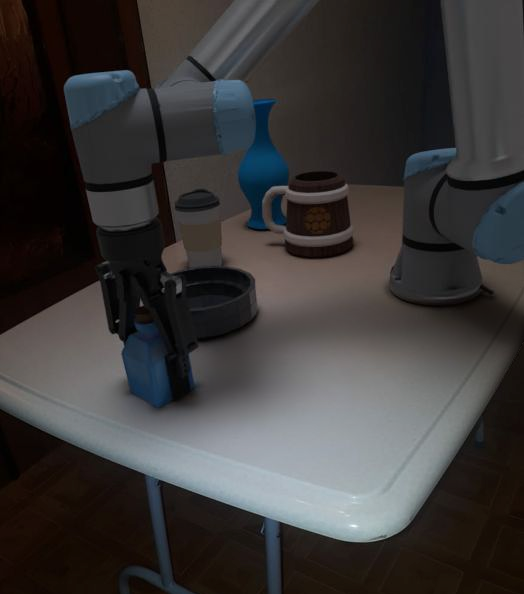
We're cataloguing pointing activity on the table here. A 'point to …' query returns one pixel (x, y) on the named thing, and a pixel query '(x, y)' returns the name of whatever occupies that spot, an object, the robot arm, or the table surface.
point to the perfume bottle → (148, 361)
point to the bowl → (219, 298)
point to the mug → (313, 214)
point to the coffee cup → (200, 227)
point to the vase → (263, 169)
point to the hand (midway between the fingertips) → (162, 387)
